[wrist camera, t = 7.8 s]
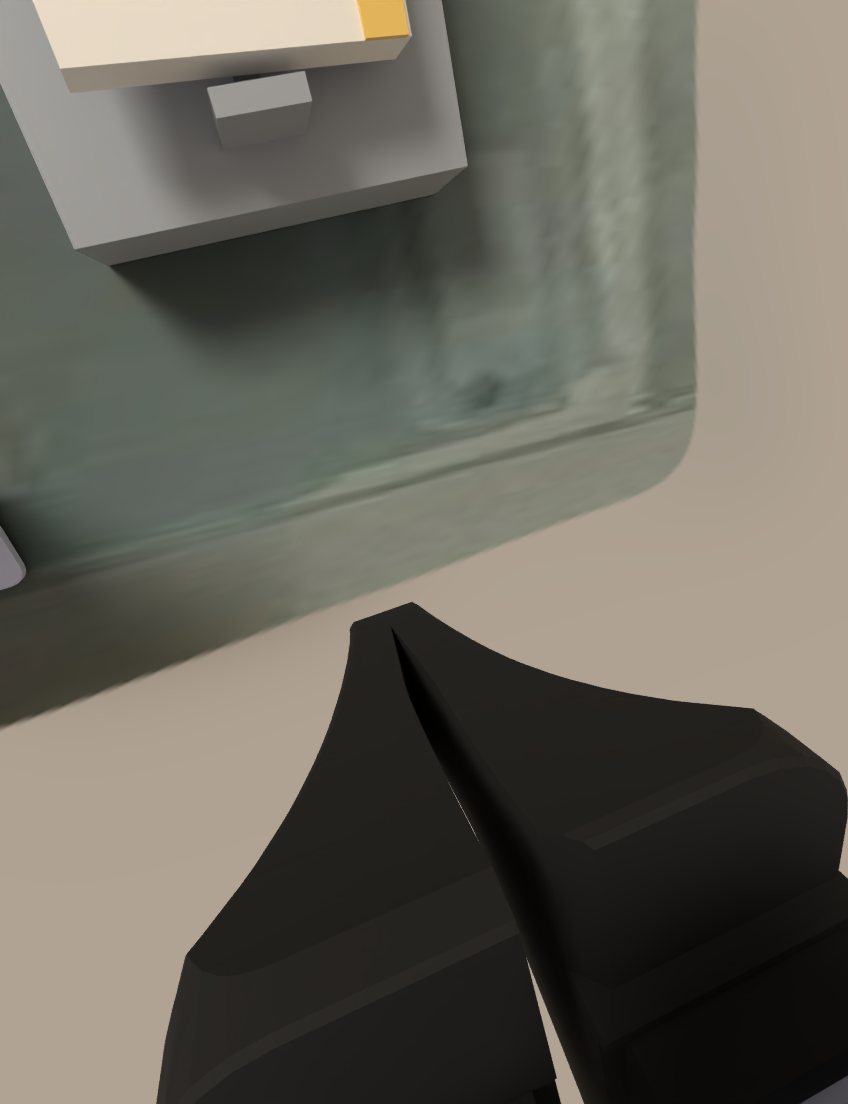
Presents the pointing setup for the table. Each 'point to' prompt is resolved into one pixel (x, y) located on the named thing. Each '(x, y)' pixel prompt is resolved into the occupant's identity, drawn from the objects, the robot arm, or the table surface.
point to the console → (232, 142)
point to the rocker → (214, 37)
